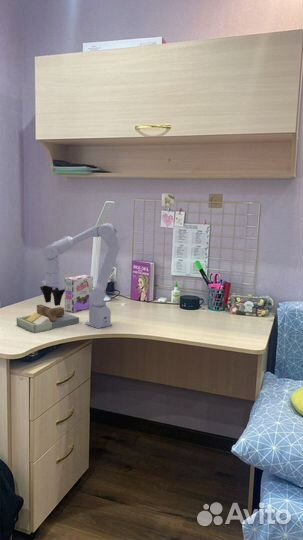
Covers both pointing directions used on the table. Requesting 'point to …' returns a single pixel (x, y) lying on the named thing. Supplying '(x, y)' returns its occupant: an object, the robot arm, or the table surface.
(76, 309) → the candy box
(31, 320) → the tile mustard
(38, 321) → the tile ivory
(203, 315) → the table surface
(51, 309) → the scraper
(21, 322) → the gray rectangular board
